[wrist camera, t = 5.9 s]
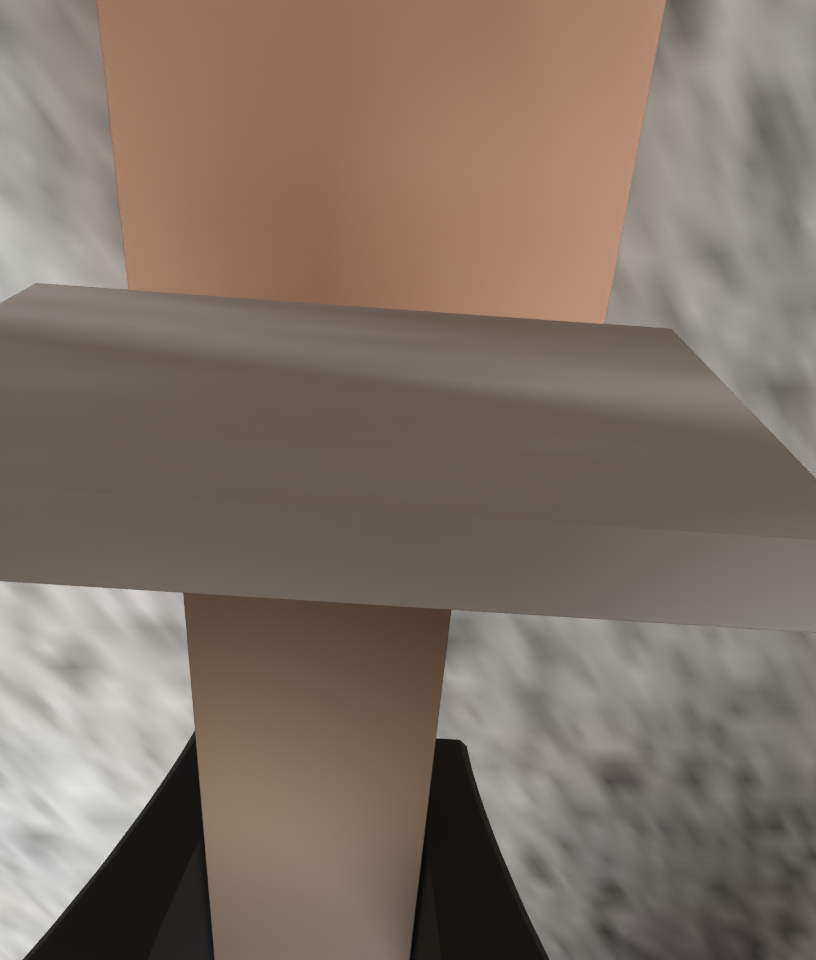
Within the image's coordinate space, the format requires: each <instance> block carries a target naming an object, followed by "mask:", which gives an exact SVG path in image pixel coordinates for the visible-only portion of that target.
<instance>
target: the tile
mask: <svg viewBox="0 0 816 960" xmlns="http://www.w3.org/2000/svg"><path fill="white" fill-rule="evenodd" d="M665 4H666V0H97V9H98V18H99V27H100V36H101V45H102V54H103V63H104V72H105V81H106V90H107V99H108V108H109V117H110V126H111V135H112V144H113V153H114V162H115V172H116V181H117V190H118V199H119V208H120V217H121V226H122V235H123V244H124V253H125V262H126V271H127V280H128V289H129V290H137V291H151V292H165V293H179V294H192V295H206V296H220V297H234V298H248V299H262V300H276V301H290V302H304V303H318V304H332V305H346V306H360V307H374V308H388V309H402V310H415V311H429V312H443V313H457V314H471V315H485V316H499V317H513V318H527V319H541V320H555V321H569V322H583V323H597V324H605V319H606V314H607V309H608V303H609V298H610V293H611V288H612V282H613V277H614V272H615V266H616V261H617V256H618V251H619V245H620V240H621V235H622V230H623V224H624V219H625V214H626V209H627V203H628V198H629V193H630V188H631V182H632V177H633V172H634V167H635V161H636V156H637V151H638V146H639V140H640V135H641V130H642V124H643V119H644V114H645V109H646V103H647V98H648V93H649V88H650V82H651V77H652V72H653V67H654V61H655V56H656V51H657V46H658V40H659V35H660V30H661V25H662V19H663V14H664V9H665Z"/></svg>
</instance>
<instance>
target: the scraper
mask: <svg viewBox="0 0 816 960" xmlns="http://www.w3.org/2000/svg"><path fill="white" fill-rule="evenodd" d="M0 581H8V582H24V583H40V584H55V585H71V586H87V587H103V588H118V589H134V590H150V591H166V592H182V593H183V594H184V606H185V618H186V629H187V641H188V653H189V665H190V676H191V688H192V700H193V711H194V723H195V735H196V746H197V758H198V770H199V781H200V793H201V805H202V817H203V828H204V840H205V852H206V863H207V875H208V887H209V898H210V910H211V922H212V934H213V945H214V957H215V960H409V958H410V950H411V941H412V933H413V925H414V916H415V908H416V900H417V891H418V883H419V875H420V866H421V858H422V850H423V841H424V833H425V825H426V816H427V808H428V799H429V791H430V783H431V774H432V766H433V758H434V749H435V741H436V733H437V724H438V716H439V708H440V699H441V691H442V682H443V674H444V666H445V657H446V649H447V641H448V632H449V624H450V616H451V610H465V611H481V612H497V613H512V614H528V615H544V616H560V617H575V618H591V619H607V620H623V621H639V622H654V623H670V624H686V625H702V626H717V627H733V628H749V629H765V630H780V631H796V632H812V633H816V478H815V477H814V476H813V475H812V474H811V473H810V472H809V471H808V470H807V469H806V468H805V467H804V466H803V465H802V464H801V463H800V462H799V461H798V460H797V459H796V458H795V457H794V456H793V455H792V454H791V453H790V452H789V450H788V449H787V448H786V447H785V446H784V445H783V444H782V443H781V442H780V441H779V440H778V439H777V438H776V437H775V436H774V435H773V434H772V433H771V432H770V431H769V430H768V429H767V428H766V427H765V426H764V425H763V423H762V422H761V421H760V420H759V419H758V418H757V417H756V416H755V415H754V414H753V413H752V412H751V411H750V410H749V409H748V408H747V407H746V406H745V405H744V404H743V403H742V402H741V401H740V400H739V399H738V398H737V397H736V395H735V394H734V393H733V392H732V391H731V390H730V389H729V388H728V387H727V386H726V385H725V384H724V383H723V382H722V381H721V380H720V379H719V378H718V377H717V376H716V375H715V374H714V373H713V372H712V371H711V370H710V369H709V367H708V366H707V365H706V364H705V363H704V362H703V361H702V360H701V359H700V358H699V357H698V356H697V355H696V354H695V353H694V352H693V351H692V350H691V349H690V348H689V347H688V346H687V345H686V344H685V343H684V342H683V341H682V339H681V338H680V337H679V336H678V335H677V334H676V333H675V332H674V331H673V330H672V329H666V328H652V327H638V326H624V325H611V324H597V323H583V322H569V321H555V320H541V319H527V318H513V317H499V316H485V315H471V314H457V313H443V312H429V311H415V310H402V309H388V308H374V307H360V306H346V305H332V304H318V303H304V302H290V301H276V300H262V299H248V298H234V297H220V296H206V295H192V294H179V293H165V292H151V291H137V290H123V289H109V288H95V287H81V286H67V285H53V284H39V283H36V284H34V285H32V286H30V287H28V288H27V289H25V290H23V291H21V292H20V293H18V294H16V295H14V296H12V297H11V298H9V299H7V300H5V301H4V302H2V303H0Z"/></svg>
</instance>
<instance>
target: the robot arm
mask: <svg viewBox="0 0 816 960" xmlns="http://www.w3.org/2000/svg"><path fill="white" fill-rule="evenodd" d="M23 960H215V957H214V945H213V934H212V922H211V910H210V898H209V887H208V875H207V863H206V852H205V840H204V828H203V817H202V805H201V793H200V781H199V770H198V758H197V746H196V735H195V731H194V733H193V735H192V736H191V738H190V740H189V741H188V743H187V745H186V746H185V748H184V750H183V751H182V753H181V754H180V756H179V757H178V759H177V761H176V762H175V764H174V765H173V767H172V768H171V770H170V771H169V773H168V774H167V776H166V777H165V779H164V780H163V782H162V783H161V785H160V786H159V788H158V789H157V791H156V792H155V793H154V795H153V796H152V798H151V799H150V801H149V802H148V804H147V805H146V806H145V808H144V809H143V811H142V812H141V813H140V815H139V816H138V817H137V819H136V820H135V821H134V823H133V824H132V826H131V827H130V828H129V830H128V831H127V832H126V834H125V835H124V836H123V838H122V839H121V840H120V842H119V843H118V844H117V846H116V847H115V848H114V850H113V851H112V852H111V854H110V855H109V856H108V858H107V859H106V860H105V862H104V863H103V864H102V865H101V867H100V868H99V869H98V871H97V872H96V873H95V874H94V876H93V877H92V878H91V879H90V880H89V882H88V883H87V884H86V885H85V887H84V888H83V889H82V890H81V891H80V893H79V894H78V895H77V896H76V897H75V899H74V900H73V901H72V902H71V904H70V905H69V906H68V907H67V908H66V910H65V911H64V912H63V913H62V915H61V916H60V917H59V918H58V919H57V921H56V922H55V923H54V924H53V925H52V927H51V928H50V929H49V930H48V931H47V932H46V934H45V935H44V936H43V937H42V938H41V939H40V940H39V942H38V943H37V944H36V945H35V946H34V947H33V948H32V950H31V951H30V952H29V953H28V954H27V955H26V956H25V958H24V959H23ZM409 960H549V958H548V956H547V954H546V952H545V950H544V948H543V946H542V944H541V941H540V939H539V937H538V935H537V933H536V931H535V929H534V927H533V925H532V923H531V921H530V919H529V916H528V914H527V912H526V910H525V908H524V905H523V903H522V901H521V899H520V897H519V894H518V892H517V890H516V887H515V885H514V883H513V880H512V878H511V875H510V873H509V871H508V868H507V866H506V864H505V861H504V859H503V857H502V854H501V852H500V849H499V847H498V844H497V842H496V839H495V836H494V834H493V831H492V829H491V826H490V823H489V820H488V817H487V815H486V812H485V809H484V806H483V803H482V800H481V797H480V794H479V791H478V788H477V785H476V781H475V778H474V775H473V771H472V767H471V764H470V760H469V755H468V751H467V746H466V745H465V744H464V743H463V742H462V741H460V740H453V739H436V741H435V749H434V758H433V766H432V774H431V783H430V791H429V799H428V808H427V816H426V825H425V833H424V841H423V850H422V858H421V866H420V875H419V883H418V891H417V900H416V908H415V916H414V925H413V933H412V941H411V950H410V958H409Z"/></svg>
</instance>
